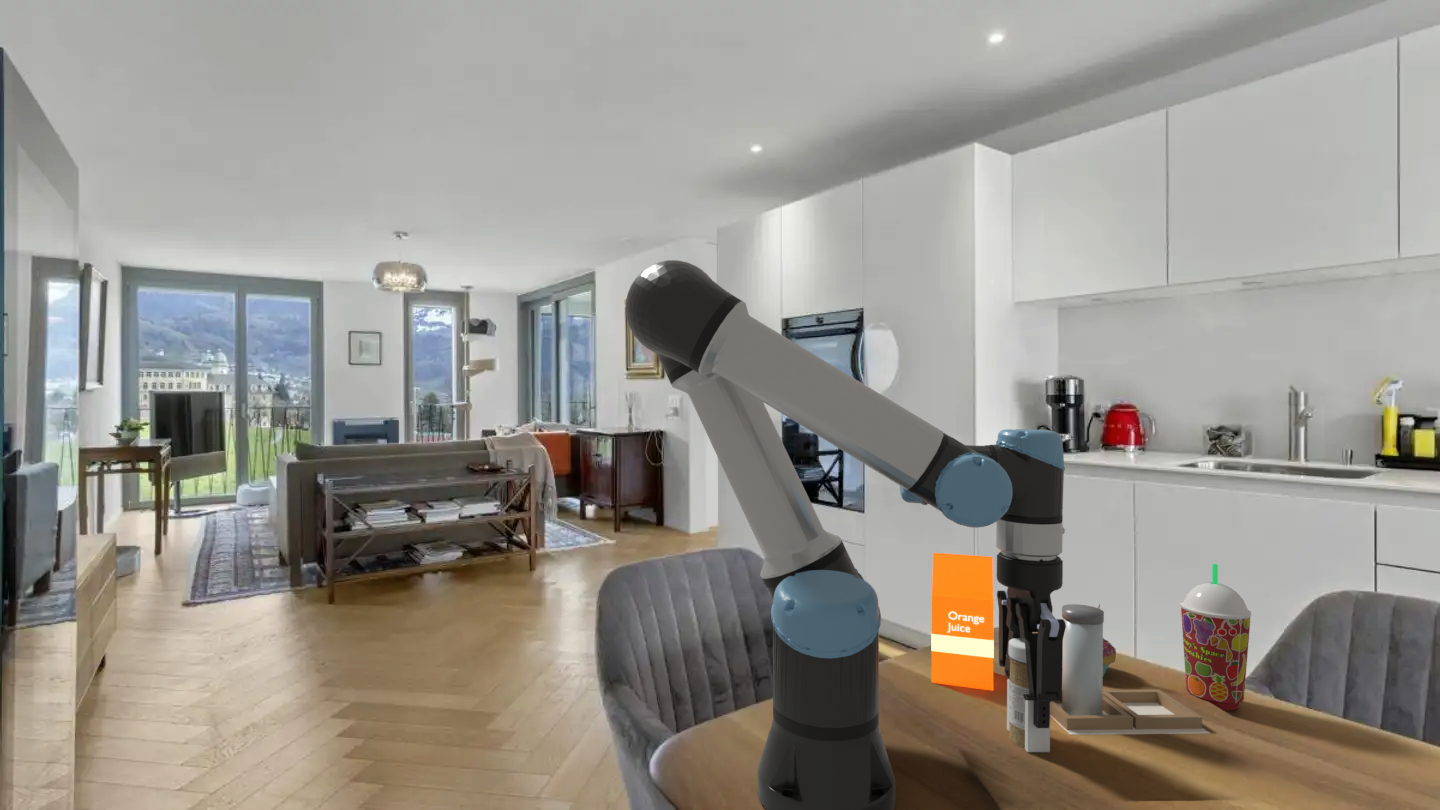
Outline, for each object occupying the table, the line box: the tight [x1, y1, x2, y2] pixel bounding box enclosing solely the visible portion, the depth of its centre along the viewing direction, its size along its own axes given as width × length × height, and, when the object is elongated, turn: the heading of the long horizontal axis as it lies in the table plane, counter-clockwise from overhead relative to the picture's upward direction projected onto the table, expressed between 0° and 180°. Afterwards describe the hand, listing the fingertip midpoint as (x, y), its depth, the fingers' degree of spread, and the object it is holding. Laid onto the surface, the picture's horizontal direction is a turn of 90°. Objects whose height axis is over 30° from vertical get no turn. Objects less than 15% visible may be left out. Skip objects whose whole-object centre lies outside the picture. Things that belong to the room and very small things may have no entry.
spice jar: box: [1008, 638, 1029, 749], centre depth 87 cm, size 5×5×14 cm
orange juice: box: [930, 552, 995, 692], centre depth 107 cm, size 8×9×20 cm
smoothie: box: [1179, 563, 1252, 712], centre depth 101 cm, size 8×8×20 cm
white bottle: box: [1061, 603, 1105, 716], centre depth 94 cm, size 5×5×14 cm
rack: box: [1050, 688, 1211, 736], centre depth 94 cm, size 18×11×3 cm, turn 91°
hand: (1027, 739), depth 87 cm, fingers closed on spice jar, 4 cm apart
